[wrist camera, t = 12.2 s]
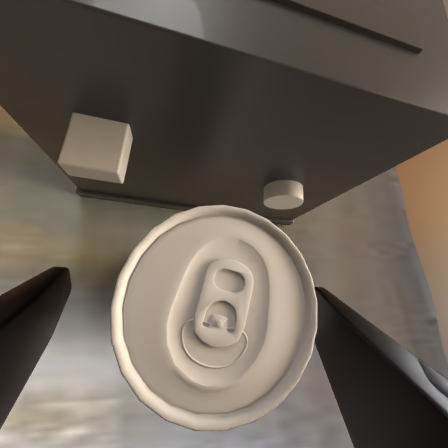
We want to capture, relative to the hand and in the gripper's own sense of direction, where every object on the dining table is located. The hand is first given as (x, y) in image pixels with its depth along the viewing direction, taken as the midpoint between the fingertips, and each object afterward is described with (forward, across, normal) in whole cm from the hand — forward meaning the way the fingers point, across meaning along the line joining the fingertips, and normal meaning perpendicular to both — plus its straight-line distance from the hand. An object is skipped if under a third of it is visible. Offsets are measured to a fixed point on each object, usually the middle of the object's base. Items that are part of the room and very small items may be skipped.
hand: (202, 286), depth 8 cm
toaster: (+14, 0, -2) cm, 14 cm away
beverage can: (+6, 0, +6) cm, 8 cm away
